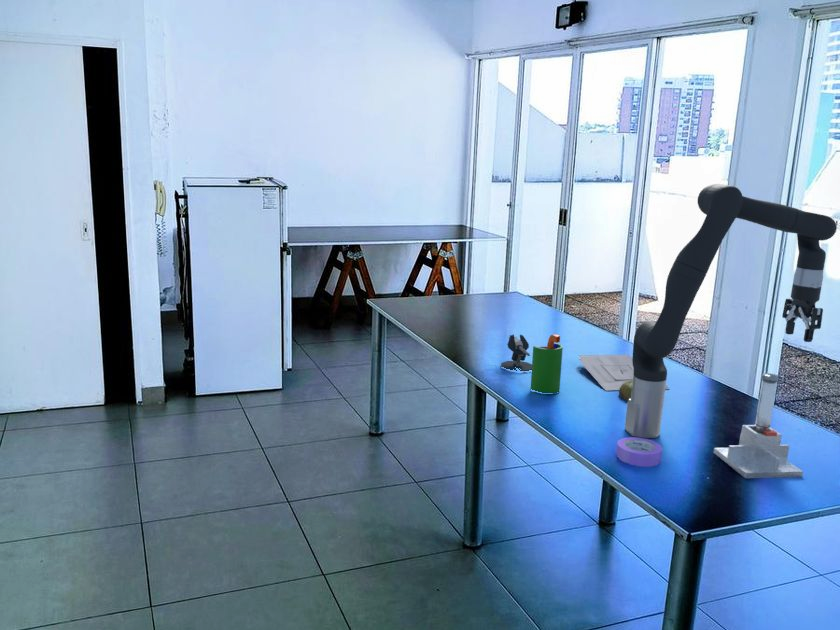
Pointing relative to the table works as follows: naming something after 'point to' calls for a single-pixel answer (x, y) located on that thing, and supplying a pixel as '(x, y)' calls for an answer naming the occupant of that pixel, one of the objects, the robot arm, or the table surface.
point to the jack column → (766, 402)
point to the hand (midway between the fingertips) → (798, 337)
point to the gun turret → (518, 354)
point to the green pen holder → (547, 366)
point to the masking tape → (639, 451)
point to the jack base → (759, 455)
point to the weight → (626, 390)
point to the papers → (609, 369)
